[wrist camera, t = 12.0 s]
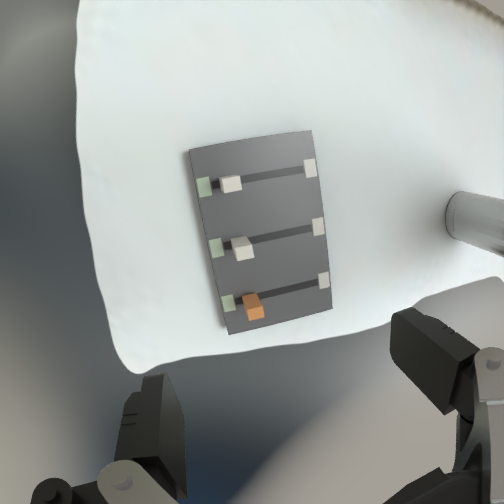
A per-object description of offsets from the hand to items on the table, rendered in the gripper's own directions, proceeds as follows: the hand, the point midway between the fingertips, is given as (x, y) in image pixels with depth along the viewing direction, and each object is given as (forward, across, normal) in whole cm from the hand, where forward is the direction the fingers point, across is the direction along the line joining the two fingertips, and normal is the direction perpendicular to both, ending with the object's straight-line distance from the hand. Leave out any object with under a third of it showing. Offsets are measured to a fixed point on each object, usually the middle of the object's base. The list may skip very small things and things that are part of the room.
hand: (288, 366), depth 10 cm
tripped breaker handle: (+31, -2, +12) cm, 33 cm away
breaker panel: (+34, -6, +4) cm, 35 cm away
